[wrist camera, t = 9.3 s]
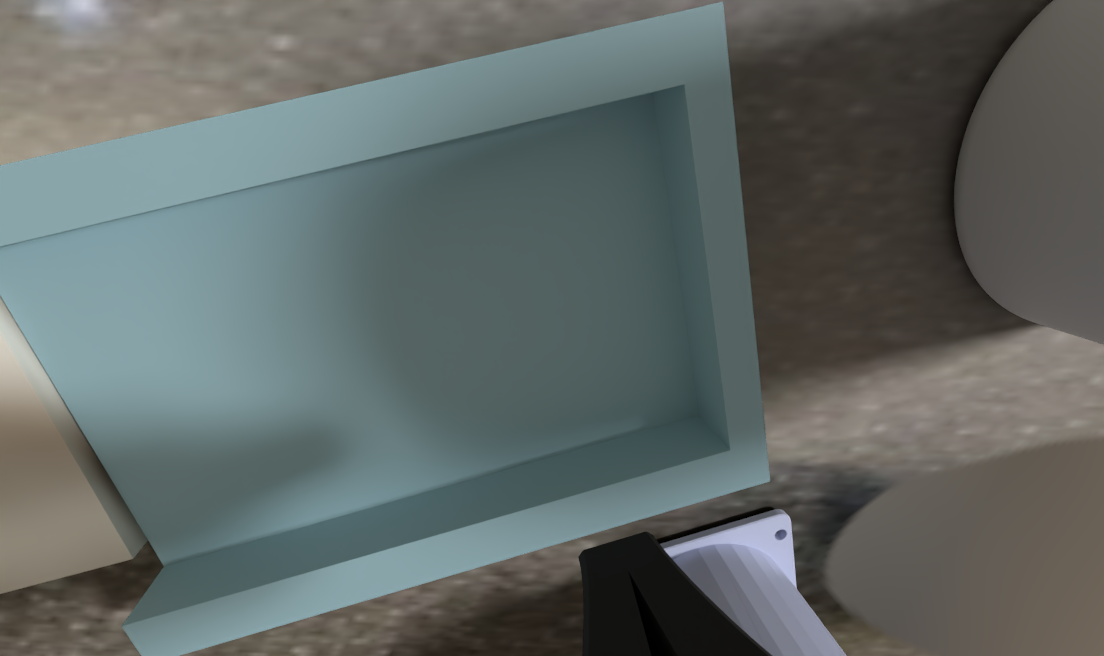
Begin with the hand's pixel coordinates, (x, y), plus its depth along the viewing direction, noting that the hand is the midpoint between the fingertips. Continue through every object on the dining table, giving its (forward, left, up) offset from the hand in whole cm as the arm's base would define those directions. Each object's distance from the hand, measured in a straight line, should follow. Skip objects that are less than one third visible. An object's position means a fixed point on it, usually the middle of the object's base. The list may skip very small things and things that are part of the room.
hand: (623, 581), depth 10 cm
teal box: (+3, +4, -9) cm, 11 cm away
